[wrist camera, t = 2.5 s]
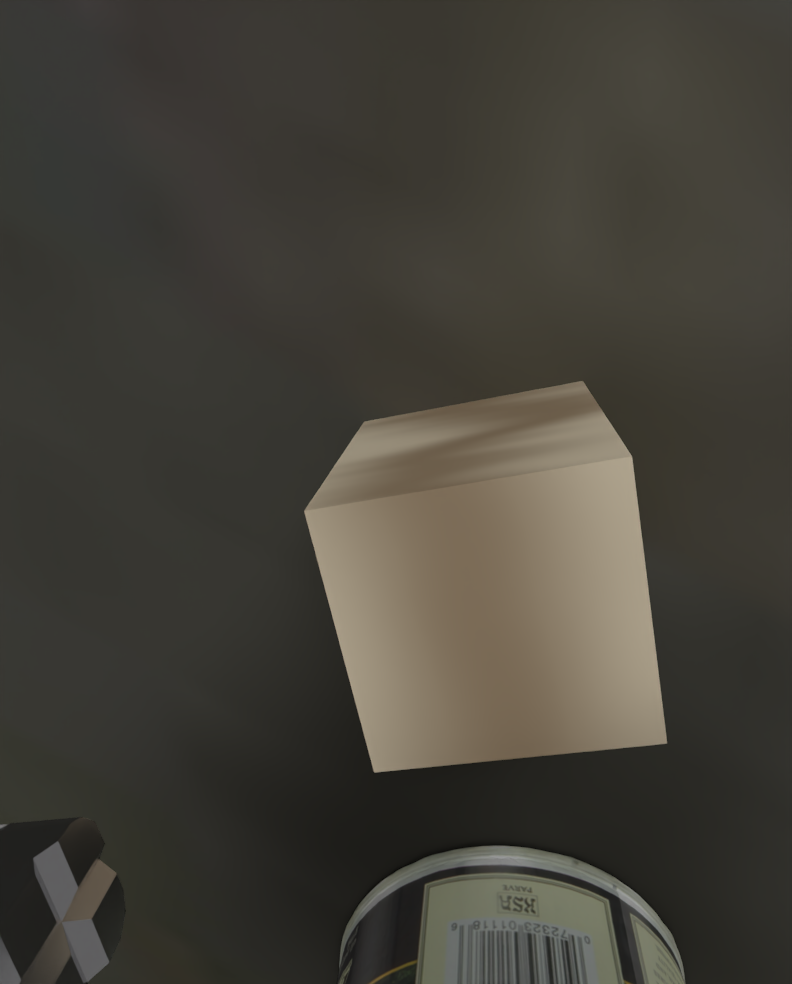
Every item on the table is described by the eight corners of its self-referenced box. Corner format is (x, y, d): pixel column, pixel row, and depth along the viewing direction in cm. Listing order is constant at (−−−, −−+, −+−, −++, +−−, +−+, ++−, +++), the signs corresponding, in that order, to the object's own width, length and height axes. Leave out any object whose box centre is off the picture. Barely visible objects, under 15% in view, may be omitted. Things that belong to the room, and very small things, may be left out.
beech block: (582, 380, 16) (631, 456, 11) (610, 583, 18) (667, 743, 12) (364, 421, 17) (304, 511, 12) (408, 611, 19) (373, 772, 13)
